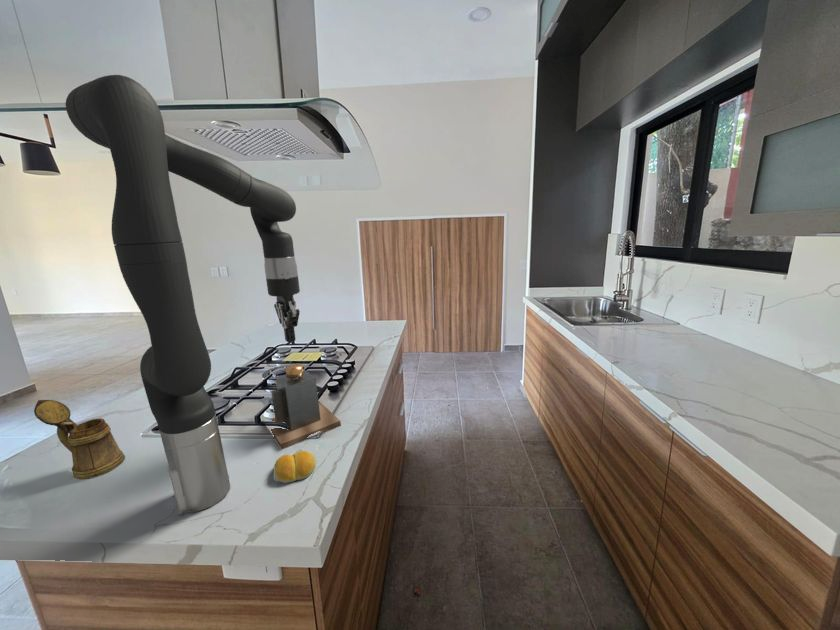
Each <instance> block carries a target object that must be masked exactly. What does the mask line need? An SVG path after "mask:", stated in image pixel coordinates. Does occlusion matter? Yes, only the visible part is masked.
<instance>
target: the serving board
mask: <svg viewBox="0 0 840 630" xmlns="http://www.w3.org/2000/svg"><path fill="white" fill-rule="evenodd" d="M318 402H319V410H320V418H321V420H320V421H317V422H314V423H312V424H309V425H306V426H304V427H301V428H299V429H296V430H293V431H291V430H287V429H282V428H274V429H271V431H272V433H273V435H274V437H273V439H274V440H275V443H277V444H278V447H280V449H281V450H284V449H286V448H290V447H291V446H294V445H296V444H299V443H301V442H304V441H306V440H308V439H307V437H308V436H309V435H311V434H314V433H316V432H318V431H322V432H323V433H322V434H324V433H325V432H328V431H329V432H330V430H331V431H332V430H334V429H335V428H338V427H341V425H342V424H341V419H339V418H338V417H337V416H336V415H335V414H334V413H333V412H332V411H330V409H328V408H327V406H325V405H324V404H323V403H322V402H321V401H319V400H318ZM271 420H272V421H275V422H284V421H283V419H282V420H279V421H277V420H276V419H275V418H273V419H271Z"/></svg>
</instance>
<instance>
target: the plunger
mask: <svg viewBox="0 0 840 630" xmlns="http://www.w3.org/2000/svg"><path fill="white" fill-rule="evenodd" d="M284 369H285V375H286V377H287V378H290V379H293V380H296V379H298V377H301V376H303V374H304V372H303V370H304V365H303V364H301V363H292V364H289V365H286V366H285V368H284Z"/></svg>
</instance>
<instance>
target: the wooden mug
mask: <svg viewBox="0 0 840 630" xmlns="http://www.w3.org/2000/svg"><path fill="white" fill-rule="evenodd" d="M33 410H34V411H33V412H34V415H35V417H36V419H38V420H39V421H40V422H42V423H44V424H45V425H49V426H55V427H57V428H56V434H57V438H58V440H59V442H60V443H61V444H62V446H64V447H65V448H66V449H67V450H68V451H69V452H70V454H71V458H72V467H71V473H72V477H73V478H74V479H77V480H89V479H94V478H98V477H99V476H102V475H104V474H107V473H109V472H111V471H113V470H114V469H116V468H117V467H119V466H120V465H122V463H124V461H125V460H126V456H125V454H124V452H123V450H121V448H120V447H119V445H118V443H117V441H116V439H115V437H114V435H113V434H112V432H111V427H110V425H109V424H108V423H107V422H106V419H104V418H101V417H100V418H93V419H88V420H86V421H84V422H81V423H79V424H77V423H76V422H74V421H73V420H72V419H71V410H70V409H69V407H68V406H67V405H66V404H64V403H62V402H60V401H58V400H54V399H37V402H36V404H35V406H34V409H33Z"/></svg>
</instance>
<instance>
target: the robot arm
mask: <svg viewBox="0 0 840 630" xmlns="http://www.w3.org/2000/svg"><path fill="white" fill-rule="evenodd" d="M65 109H66V110H65V111H66V114H67V116H68V118H69V120H70V122H71V124H73V126H74V127H75V128H76V129H77V131H78V132H80V133H81V134H82V135H83V136H84V137H85V138H87V139H88V140H89V141H91V142H93V143H95V144H97V145H99V146H101V147H102V148H103V147H104V148H106V149H109V151H110V154H111V158H112V162H113V166H114V167H113V168H114V172H115V183H116V185H115V194H114V202H113V209H112V215H111V216H112V217H111V238H112V244H113V245H114V251H115V254H116V258H117V262H118V266H119V269H120V273H121V275H122V278H123V280H124V282H125V284H126V286H127V289H128V290H129V292H130V294H131V296H132V298H133V300H134V302H135V303H136V306H137V307H138V309H139V310H140V312H141V315H142V316H143V318H144V321H145V323H146V326H147V329H148V333H149V338H150V343H151V344H150V345H151V346H150V347H148V348H147V349H146V350H145V352H144V353H143V355H142V357H141V360H140V365H139V368H140V377H141V380H142V384H143V388H144V391H145V394H146V395H145V396H146V397H147V401H148V405H149V408H150V411H151V413H152V416H154V417H153V418H154V419H155V421H156V423H157V426H158V430H159V433H160V437H161V442H162V445H163V449H164V454H165V458H166V460H167V465H168V473H169V477H170V481H171V486H172V489H173V493H174V497H175V502H176V505H177V509H178V512H179V515H184V514H186V513H193V512H194V513H195V512H199V511H203V510H206V509H208V508H211V507H212V506H214V505H216V504H218V503H219V502H220V501H222V500H223V499H224V498H225V497H226V495H228V493H229V491H230V489H231V483H230V476H229V472H228V468H227V467H228V466H227V463H226V459H225V453H224V447H223V443H222V439H221V433H220V428H219V423H218V419H217V415H216V409H215V405H214V401H213V400H212V398H211V397H210V396H209V394H208V392H207V390H206V389H205V387H204V386H205V385H206V384H207V383H208V381H209V379H210V376H211V372H212V361H211V358H210V355H209V354H210V353H209V352H208V348H207V345H206V343H205V339H204V337H203V334H202V332H201V329H200V328H201V327H200V325H199V322H198V318H197V317H198V316H197V314H196V308H195V302H194V296H193V291H192V285H191V281H190V280H191V279H190V276H189V270H188V263H187V258H186V257H187V256H186V253H185V252H186V251H185V247H184V242H183V239H182V236H181V235H182V233H181V231H180V228H179V222H178V217H177V212H176V210H177V209H176V206H175V201H174V200H175V199H174V196H173V192H172V186H171V182H170V174H169V173H172V174H175V175H176V176H179V177H182V178H183V179H185V180H188V181H190V182H192V183H194V184H197V185H198V186H200V187H202V188H205V190H206V189H207V190H208V191H210V192H212V193H214V194H215V195H217V196H220V197H222V198H223V199H226V200H228V201H229V202H231V203H233V204H235V205H236V206H237V205H238V206H240V207H243V208H249V211H250V216H251V218H252V220H253V223H254V226H255V228H256V230H257V233H258V235H259V238H260V239H261V243H262V252H263V253H262V254H263V257H264V274H265V281H266V287H267V293H268V295H269V296H270V297H276V301H275V303H274V305H273V306H274V309H275V312H276V315H277V317H278V321H279V324H280V325H281V327H282V328H283V333H284V340H285V341H286V342H287V343H292V342H295V341H296V333H295V327H297V326H298V324H299V318H300V317H299V316H300V312H301V311H300V310H299V308H297V304H296V301H295V299H294V295H297V294H299V293H300V292H301V291H300V290H301V289H300V282H299V274H298V265H297V261H296V257H295V249H294V248H295V247H294V241H293V237H292V235H291V234H290V233H287V232H284V231H282V230H281V227H280V226H279V223H282V222H283V223H284V222H288V221H291V220H292V219H293V218H294V216H295V215H296V212H297V206H296V201H295V199H294V198H293V197H292V195H290V194H289V193H288V192H287V191H285V190H284V189H283V188H280V187H279V186H276V185H274V184H271V183H269V182H267V181H264V180H260V179H258V178H256V177H253V176H252V175H251V174H250V173H248V172H246V171H245V170H243V169H241V168H240V167H238V166H237V165H235V164H233V163H231V162H230V161H228V160H227V159H224V158H223V157H220V156H219V155H216V154H213V153H211V152H208V151H205V150H203V149H199V148H197V147H195V146H192V145H189V144H188V143H185V142H181V141H179V140H178V139H175V138H173V137H171V136H169V135H168V134H166V131H165V124H164V120H163V116H162V112H161V110H160V107H159V106H158V104H157V101H156V100H155V98H154V97H153V95H152V94H151V93H150V92H149V91H148V90H147V89H146V88H145V87H144V86H143V85H142V84H141V83H139V82H137V81H136V79H135V80H134V79H133V78H131V77H128V76H127V75H121V74H109V75H103V76H100V77H98V78H95V79H94V80H90V81H88V82H85V83H83V84H81V85H79V86H77V87H75V88H74V89H72V90H71V91H70V92H69V93H68V94H67V97H66V99H65ZM296 308H297V309H296Z"/></svg>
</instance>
